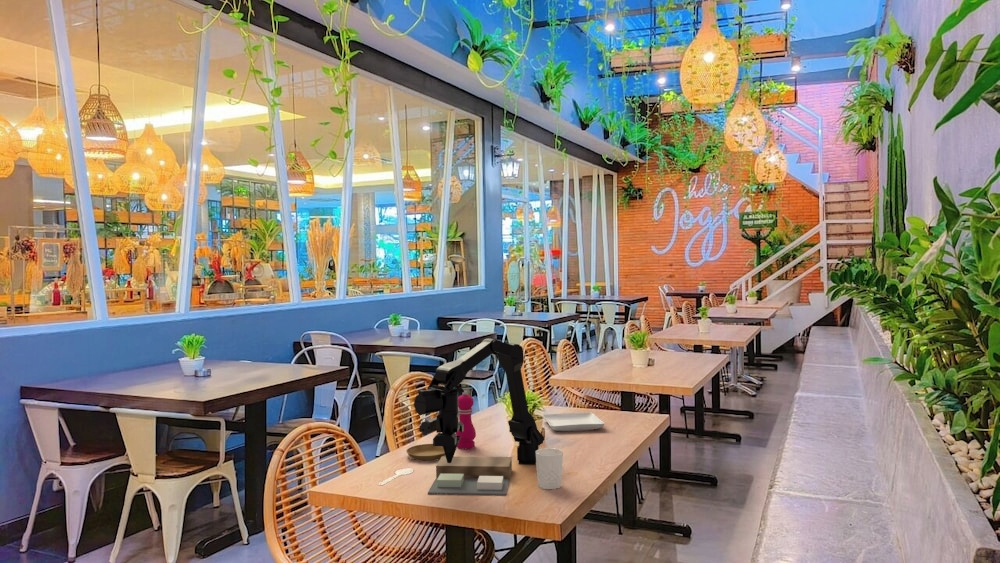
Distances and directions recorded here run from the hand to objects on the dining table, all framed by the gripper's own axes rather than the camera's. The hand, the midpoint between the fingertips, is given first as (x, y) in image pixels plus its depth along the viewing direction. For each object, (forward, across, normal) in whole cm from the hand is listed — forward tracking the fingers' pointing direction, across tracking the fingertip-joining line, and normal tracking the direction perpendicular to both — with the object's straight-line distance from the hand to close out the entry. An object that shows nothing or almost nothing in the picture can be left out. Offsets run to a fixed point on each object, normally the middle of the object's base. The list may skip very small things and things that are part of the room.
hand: (449, 462), depth 200 cm
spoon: (+7, -7, -18) cm, 21 cm away
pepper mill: (+7, -41, -1) cm, 42 cm away
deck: (+6, -10, +6) cm, 13 cm away
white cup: (+7, 0, +29) cm, 30 cm away
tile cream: (+4, +2, +12) cm, 13 cm away
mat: (+6, +2, +6) cm, 9 cm away
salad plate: (+7, -73, +37) cm, 82 cm away
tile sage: (+4, 0, 0) cm, 4 cm away
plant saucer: (+7, -29, -12) cm, 32 cm away
